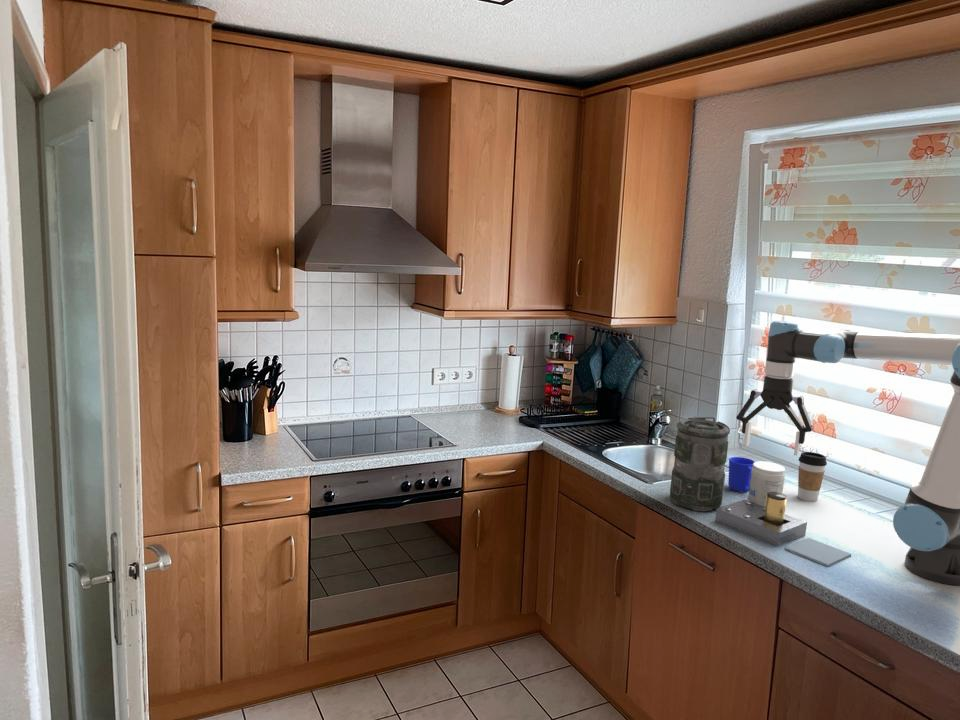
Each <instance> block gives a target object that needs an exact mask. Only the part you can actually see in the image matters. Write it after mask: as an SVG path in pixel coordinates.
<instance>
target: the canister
mask: <svg viewBox="0 0 960 720" xmlns="http://www.w3.org/2000/svg"><path fill="white" fill-rule="evenodd" d="M708 419H709V420H708ZM710 419H711V420H710ZM676 428H677V432H676V433H677V435H676V436H675V442H674V452H673V453H674V454H673V455H674V464H673V468H672V470H671V480H670V486H669V487H670V488H669V498H670V500H671V502H672V503H673V504H674V505H676V506H679V507H680V508H681V507H683V508H686V509H690V510H692V511H695V512H711V511H713V510H715V509H717V508H719V507H722V503H723V498H724V488H725V481H726V480H725V479H726V473H725V466H726V463H727V459H728V450H729V441H728V439H729V434H730V433H731V430H730V427H729V425H727V424H726V423H724V422H721V421H719V420H718V421H716V417H715V416H694V417H689V418H686V419H682V420H681V421H678V422H676Z"/></svg>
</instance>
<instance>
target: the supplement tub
mask: <svg viewBox="0 0 960 720" xmlns="http://www.w3.org/2000/svg"><path fill="white" fill-rule="evenodd" d="M785 478H786V468H785V466H783V465H781V464H778V463H775V462H772V461H759V460H758V461H754V463H753V467H752V471H751V478H750V486H749V491H748V495H747V501H750V502H753V503H756V504H758V505H761V506H764V507H765V506H766V498H767V493H768V492H779V493H783V491H784V486H785ZM783 494H784V493H783Z"/></svg>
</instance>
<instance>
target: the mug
mask: <svg viewBox="0 0 960 720" xmlns="http://www.w3.org/2000/svg"><path fill="white" fill-rule="evenodd" d="M754 462H755V461H754V460H753V459H751V458H747V457H742V456H741V457H740V456H731V457H729V458H728V483H727V484H728V487H729V489H731V490H732V491H734V492H739V493H740V492H741V493H743V492H744V493H746V492H749V486H750V478H751V471H752V467H753V463H754Z"/></svg>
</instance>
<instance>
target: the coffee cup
mask: <svg viewBox="0 0 960 720" xmlns="http://www.w3.org/2000/svg"><path fill="white" fill-rule="evenodd" d="M798 462H799V466H798V476H797V477H798V480H797V484H798V488H797V497H798V498H799V499H800V500H802V501H805V502H806V501H807V502H817V501H818V499H819V496H820V495H819V494H820V491H821V487H822V483H823V479H824V476H825V471H826V470H825V469H826V466H827V464H828V462H827V456H825V455H824V454H821V453H818V452H812V451H803V452H801V453H800V456H799V457H798Z"/></svg>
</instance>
